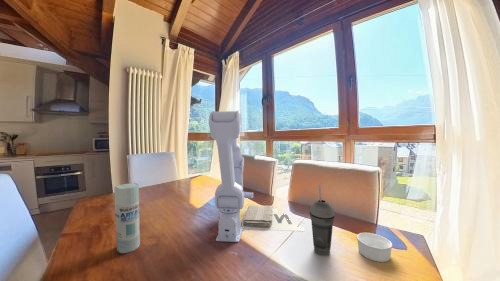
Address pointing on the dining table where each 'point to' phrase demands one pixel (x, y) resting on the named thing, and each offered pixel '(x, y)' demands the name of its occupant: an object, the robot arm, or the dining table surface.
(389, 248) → the ramekin
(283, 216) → the placemat
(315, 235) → the beverage cup
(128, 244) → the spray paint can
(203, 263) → the dining table surface
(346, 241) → the dining table surface
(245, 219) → the washcloth
